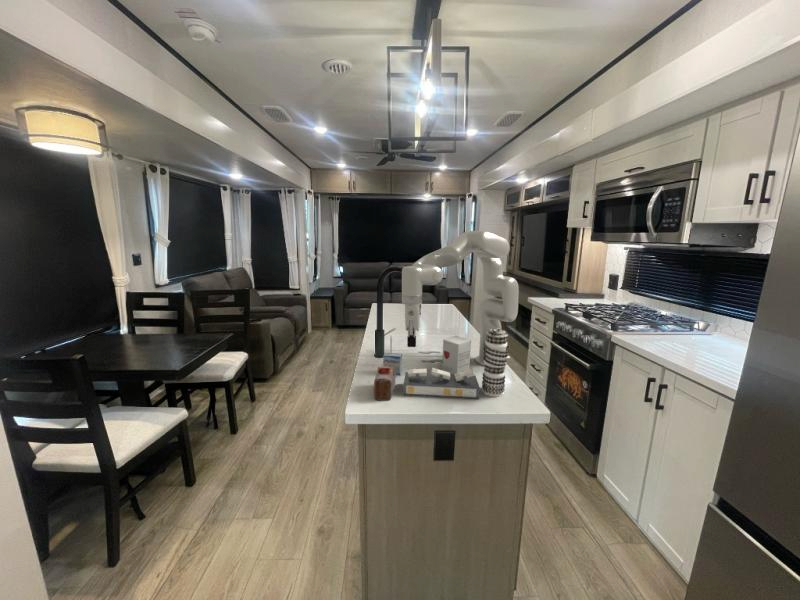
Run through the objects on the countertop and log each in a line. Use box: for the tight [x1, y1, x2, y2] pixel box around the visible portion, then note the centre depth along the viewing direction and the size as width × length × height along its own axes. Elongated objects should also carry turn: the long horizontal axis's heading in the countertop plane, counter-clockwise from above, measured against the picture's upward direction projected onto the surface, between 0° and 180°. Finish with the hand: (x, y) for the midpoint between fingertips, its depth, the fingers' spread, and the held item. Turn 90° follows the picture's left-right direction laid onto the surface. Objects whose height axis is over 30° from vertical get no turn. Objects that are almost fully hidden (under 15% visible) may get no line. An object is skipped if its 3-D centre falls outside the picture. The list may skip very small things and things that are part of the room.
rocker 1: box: [407, 368, 428, 377], centre depth 124 cm, size 7×4×2 cm, turn 85°
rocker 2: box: [431, 367, 450, 380], centre depth 123 cm, size 7×4×2 cm, turn 85°
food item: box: [373, 365, 397, 401], centre depth 122 cm, size 14×8×10 cm, turn 179°
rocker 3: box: [455, 368, 475, 381], centre depth 123 cm, size 7×4×2 cm, turn 85°
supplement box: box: [441, 335, 472, 374], centre depth 142 cm, size 9×9×15 cm
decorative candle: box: [481, 328, 510, 398], centre depth 123 cm, size 9×9×25 cm
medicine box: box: [382, 352, 403, 376], centre depth 140 cm, size 8×4×9 cm, turn 82°
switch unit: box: [403, 371, 480, 400], centre depth 124 cm, size 28×10×8 cm, turn 85°
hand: (411, 346), depth 123 cm, fingers closed
